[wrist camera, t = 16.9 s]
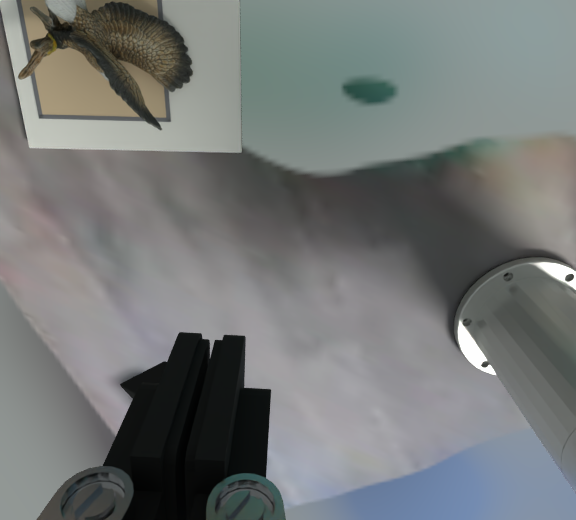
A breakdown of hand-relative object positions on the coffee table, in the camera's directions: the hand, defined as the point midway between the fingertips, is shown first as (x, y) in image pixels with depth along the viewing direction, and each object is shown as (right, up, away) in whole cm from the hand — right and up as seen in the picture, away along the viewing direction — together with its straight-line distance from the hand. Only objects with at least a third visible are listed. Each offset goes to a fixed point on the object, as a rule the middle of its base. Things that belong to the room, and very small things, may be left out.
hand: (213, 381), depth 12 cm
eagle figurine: (-10, +18, +21) cm, 29 cm away
